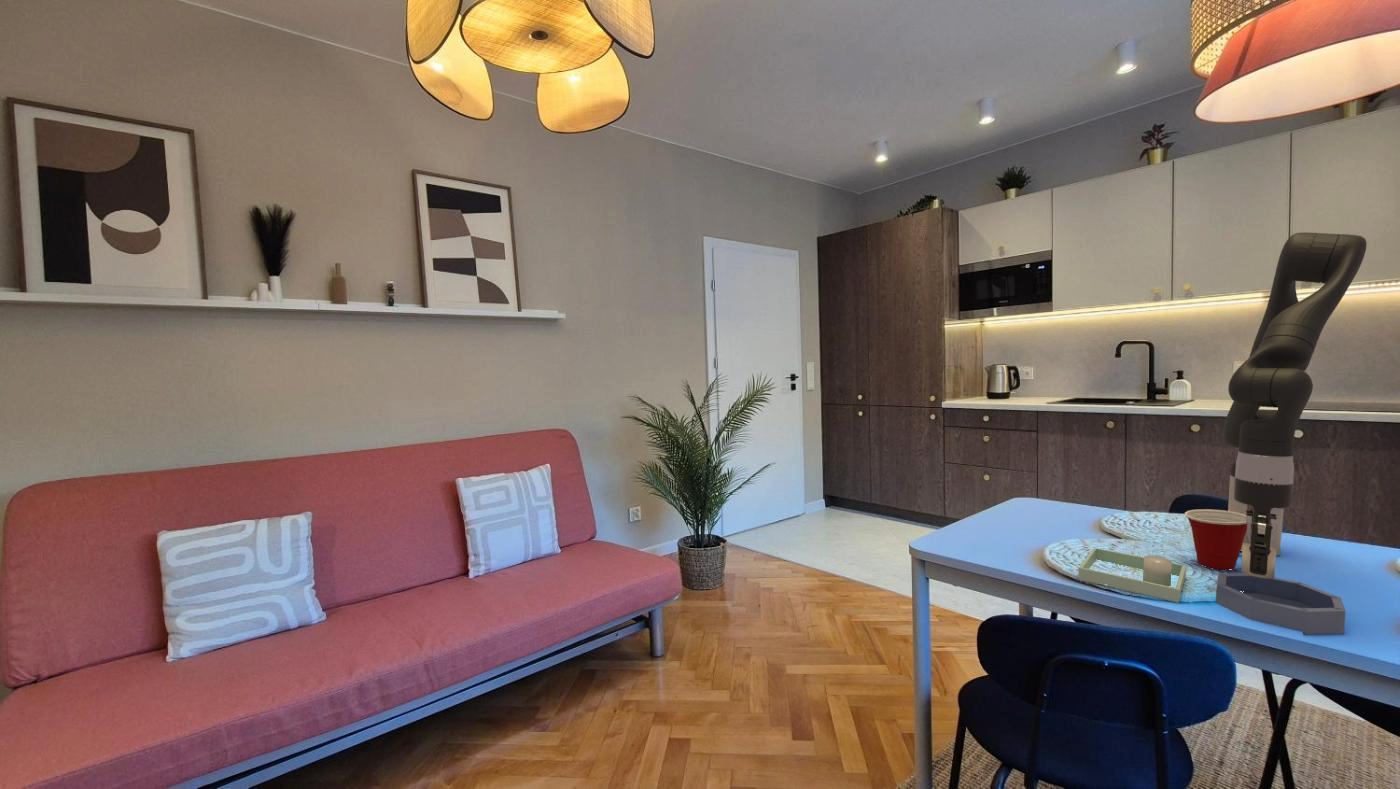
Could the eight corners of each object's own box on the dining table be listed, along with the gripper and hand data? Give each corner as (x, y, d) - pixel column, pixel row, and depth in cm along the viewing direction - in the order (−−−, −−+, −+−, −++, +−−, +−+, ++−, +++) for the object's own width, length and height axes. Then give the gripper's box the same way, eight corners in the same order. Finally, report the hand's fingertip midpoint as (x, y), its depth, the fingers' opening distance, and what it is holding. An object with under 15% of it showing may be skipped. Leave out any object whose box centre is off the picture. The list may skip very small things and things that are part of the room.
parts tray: (1093, 560, 130) (1093, 547, 129) (1185, 579, 119) (1186, 565, 118) (1077, 581, 118) (1078, 567, 118) (1178, 605, 107) (1179, 589, 107)
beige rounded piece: (1144, 577, 119) (1145, 554, 118) (1171, 583, 116) (1173, 559, 115) (1141, 584, 115) (1142, 559, 115) (1169, 590, 112) (1170, 565, 112)
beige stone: (1241, 567, 108) (1242, 541, 108) (1273, 573, 105) (1275, 546, 105) (1240, 574, 105) (1242, 547, 104) (1274, 580, 102) (1276, 553, 101)
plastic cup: (1175, 555, 132) (1177, 504, 131) (1236, 563, 127) (1240, 510, 126) (1190, 572, 122) (1193, 517, 121) (1257, 581, 117) (1261, 524, 116)
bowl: (1218, 586, 115) (1219, 566, 115) (1336, 610, 104) (1338, 589, 104) (1214, 613, 104) (1215, 592, 103) (1347, 644, 93) (1349, 620, 92)
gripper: (1295, 488, 96) (1289, 587, 97) (1290, 474, 106) (1284, 564, 108) (1234, 481, 101) (1229, 576, 102) (1235, 469, 111) (1230, 554, 113)
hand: (1257, 569), depth 105 cm, fingers closed on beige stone, 4 cm apart
